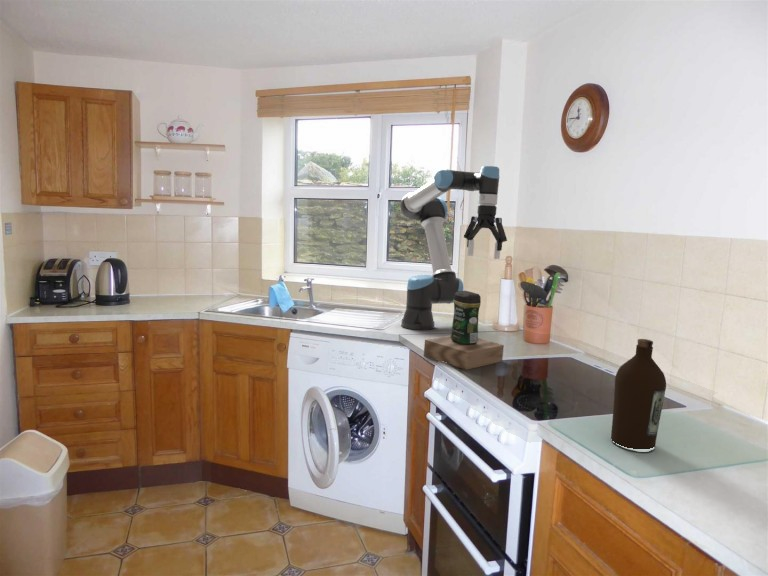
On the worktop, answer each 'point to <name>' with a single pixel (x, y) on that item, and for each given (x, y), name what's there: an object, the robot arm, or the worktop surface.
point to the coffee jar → (465, 317)
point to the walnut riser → (463, 352)
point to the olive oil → (638, 399)
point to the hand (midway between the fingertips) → (483, 257)
